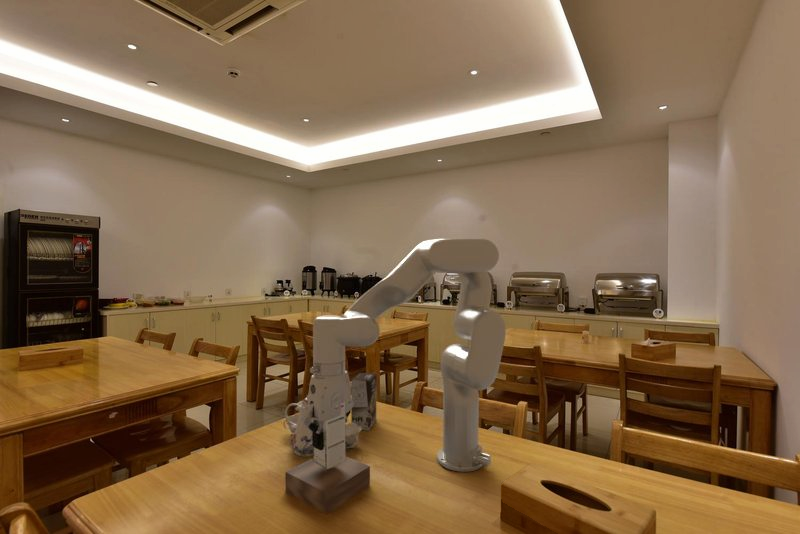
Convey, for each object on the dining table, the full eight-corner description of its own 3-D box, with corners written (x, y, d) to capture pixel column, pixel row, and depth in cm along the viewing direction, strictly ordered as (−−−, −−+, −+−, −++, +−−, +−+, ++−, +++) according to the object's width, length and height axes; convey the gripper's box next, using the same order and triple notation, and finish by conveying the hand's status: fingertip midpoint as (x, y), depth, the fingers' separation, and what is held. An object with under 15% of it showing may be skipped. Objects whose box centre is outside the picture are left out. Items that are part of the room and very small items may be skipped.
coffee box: (369, 431, 127) (370, 380, 127) (350, 429, 128) (350, 379, 128) (377, 420, 136) (377, 373, 136) (359, 418, 137) (359, 371, 137)
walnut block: (369, 486, 96) (369, 466, 96) (326, 516, 85) (326, 492, 85) (329, 468, 105) (329, 449, 105) (285, 493, 93) (285, 471, 93)
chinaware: (369, 447, 120) (372, 390, 121) (343, 467, 104) (347, 402, 106) (291, 433, 129) (294, 380, 131) (256, 450, 114) (260, 390, 115)
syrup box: (346, 461, 95) (346, 400, 95) (326, 470, 91) (326, 407, 91) (331, 453, 99) (331, 395, 99) (311, 461, 95) (311, 401, 94)
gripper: (309, 379, 85) (309, 462, 86) (366, 363, 99) (366, 435, 99) (288, 372, 90) (289, 451, 91) (345, 358, 104) (345, 427, 104)
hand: (329, 442), depth 95 cm, fingers closed on syrup box, 6 cm apart
